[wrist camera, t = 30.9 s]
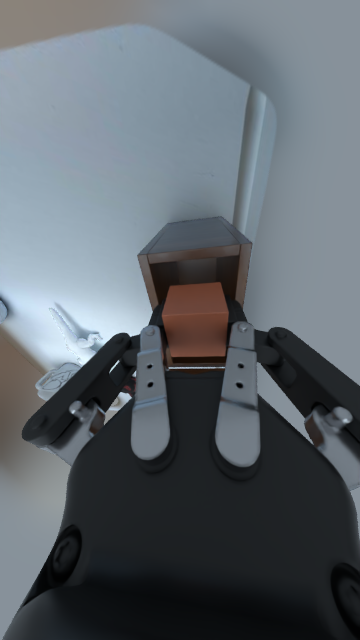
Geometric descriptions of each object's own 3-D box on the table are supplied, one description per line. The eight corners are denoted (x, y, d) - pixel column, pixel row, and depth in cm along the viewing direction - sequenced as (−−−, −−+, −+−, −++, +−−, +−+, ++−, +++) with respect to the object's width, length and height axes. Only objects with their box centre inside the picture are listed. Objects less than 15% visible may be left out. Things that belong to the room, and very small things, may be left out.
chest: (167, 223, 26) (136, 255, 12) (222, 216, 24) (252, 242, 11) (178, 301, 34) (167, 367, 21) (219, 298, 33) (234, 366, 20)
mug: (56, 372, 57) (34, 401, 49) (47, 357, 52) (20, 387, 44) (88, 376, 57) (71, 405, 49) (82, 362, 52) (62, 392, 44)
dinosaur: (74, 298, 36) (44, 324, 29) (126, 364, 51) (115, 393, 43) (38, 307, 39) (2, 333, 31) (98, 368, 53) (82, 395, 46)
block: (169, 285, 13) (161, 315, 10) (220, 281, 12) (228, 311, 9) (176, 323, 15) (171, 357, 12) (219, 321, 15) (225, 356, 12)
